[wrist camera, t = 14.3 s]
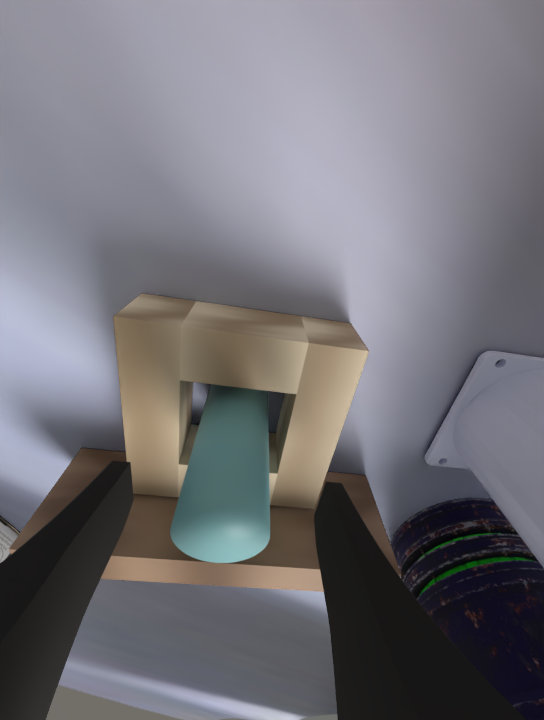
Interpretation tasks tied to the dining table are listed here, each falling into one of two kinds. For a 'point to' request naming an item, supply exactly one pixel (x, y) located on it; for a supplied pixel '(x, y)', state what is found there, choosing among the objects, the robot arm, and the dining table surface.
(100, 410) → the dining table surface
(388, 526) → the dining table surface
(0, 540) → the candy bar box
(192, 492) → the dowel
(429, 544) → the storage jar
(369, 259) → the dining table surface
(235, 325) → the light wooden square frame
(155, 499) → the backstop wall
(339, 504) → the robot arm
